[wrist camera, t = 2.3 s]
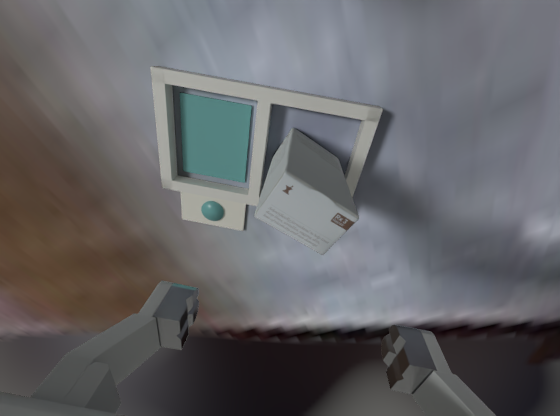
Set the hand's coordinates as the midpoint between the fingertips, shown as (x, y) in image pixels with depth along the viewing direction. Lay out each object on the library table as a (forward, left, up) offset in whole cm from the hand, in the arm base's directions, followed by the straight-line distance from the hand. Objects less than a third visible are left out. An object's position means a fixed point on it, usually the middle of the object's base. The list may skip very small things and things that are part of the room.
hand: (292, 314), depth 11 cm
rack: (+5, +2, -19) cm, 20 cm away
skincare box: (0, 0, -20) cm, 20 cm away
